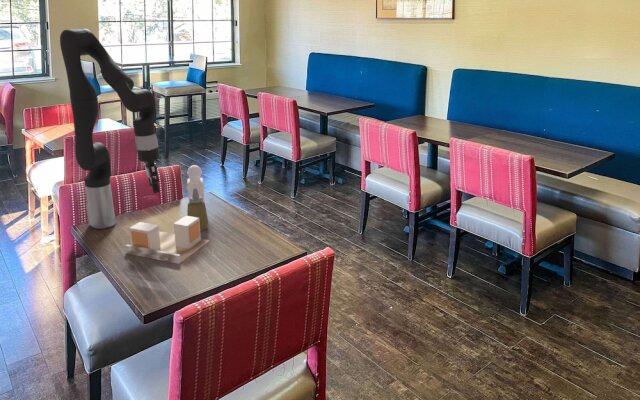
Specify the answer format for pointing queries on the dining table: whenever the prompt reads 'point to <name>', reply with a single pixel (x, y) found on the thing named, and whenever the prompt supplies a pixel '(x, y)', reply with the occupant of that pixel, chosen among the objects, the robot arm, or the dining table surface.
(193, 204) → the squeeze bottle
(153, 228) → the faced carton
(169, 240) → the shelf board
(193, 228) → the turned carton
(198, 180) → the white figurine
